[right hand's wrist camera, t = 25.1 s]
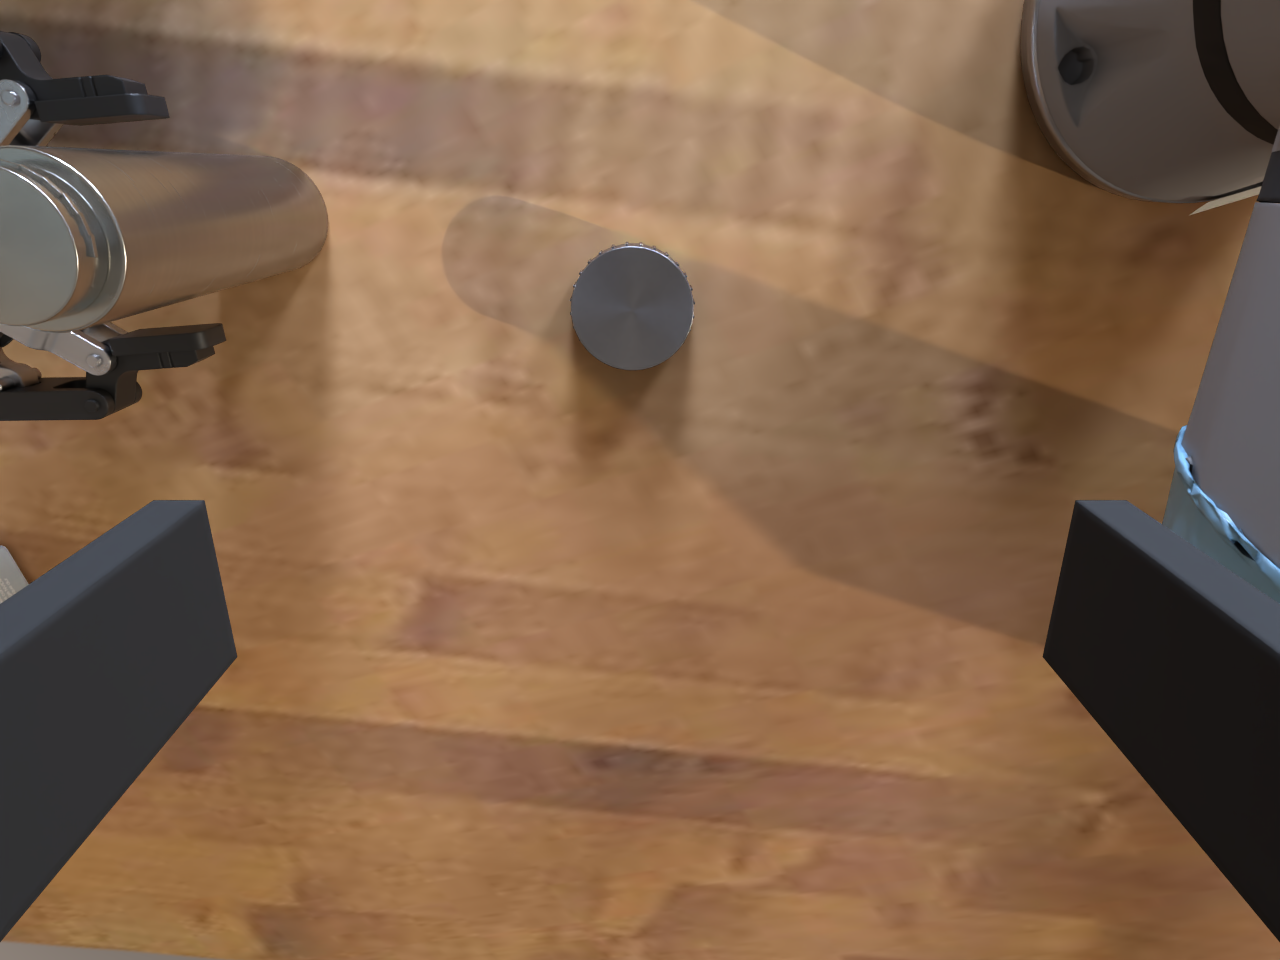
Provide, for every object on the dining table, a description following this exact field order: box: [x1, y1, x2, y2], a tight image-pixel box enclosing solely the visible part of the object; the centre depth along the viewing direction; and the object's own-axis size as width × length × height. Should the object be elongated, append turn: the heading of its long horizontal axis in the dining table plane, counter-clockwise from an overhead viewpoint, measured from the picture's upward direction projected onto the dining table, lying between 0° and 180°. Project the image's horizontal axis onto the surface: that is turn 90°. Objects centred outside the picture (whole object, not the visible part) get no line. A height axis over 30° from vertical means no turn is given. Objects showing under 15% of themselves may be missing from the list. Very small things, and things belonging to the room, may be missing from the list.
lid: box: [570, 242, 695, 370], centre depth 37 cm, size 6×6×2 cm
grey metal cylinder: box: [0, 145, 328, 333], centre depth 29 cm, size 5×5×17 cm
